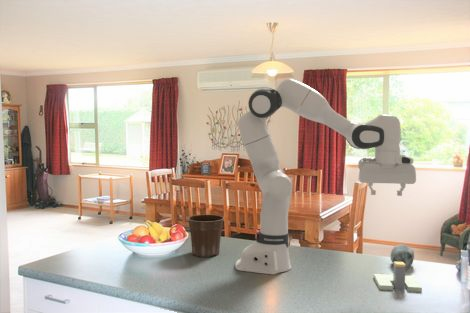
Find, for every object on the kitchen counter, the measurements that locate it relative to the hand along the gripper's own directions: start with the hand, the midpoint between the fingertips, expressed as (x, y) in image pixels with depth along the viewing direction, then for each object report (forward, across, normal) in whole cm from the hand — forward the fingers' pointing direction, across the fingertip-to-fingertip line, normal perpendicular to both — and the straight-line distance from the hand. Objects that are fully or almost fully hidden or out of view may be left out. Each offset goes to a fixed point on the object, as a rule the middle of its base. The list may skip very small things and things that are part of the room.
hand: (386, 195), depth 161 cm
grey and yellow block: (+31, +3, -12) cm, 33 cm away
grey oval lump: (+31, +10, +15) cm, 36 cm away
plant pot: (+31, -73, +18) cm, 81 cm away
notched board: (+31, +3, -8) cm, 32 cm away
